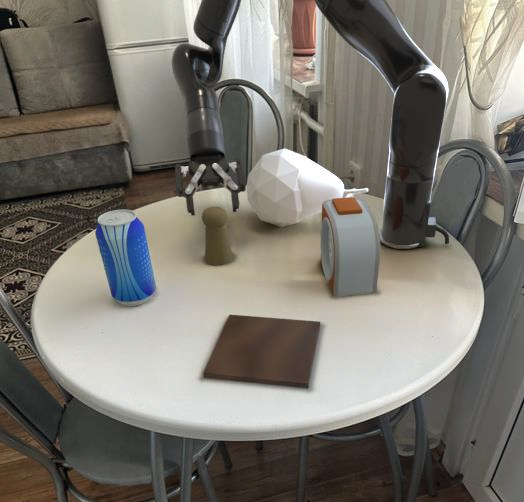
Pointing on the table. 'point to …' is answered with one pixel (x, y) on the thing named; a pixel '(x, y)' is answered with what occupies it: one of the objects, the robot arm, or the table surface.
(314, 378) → the table surface
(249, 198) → the pear ornament
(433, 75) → the robot arm
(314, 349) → the place mat
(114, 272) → the beer can
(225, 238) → the olive game pawn
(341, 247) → the alarm clock
